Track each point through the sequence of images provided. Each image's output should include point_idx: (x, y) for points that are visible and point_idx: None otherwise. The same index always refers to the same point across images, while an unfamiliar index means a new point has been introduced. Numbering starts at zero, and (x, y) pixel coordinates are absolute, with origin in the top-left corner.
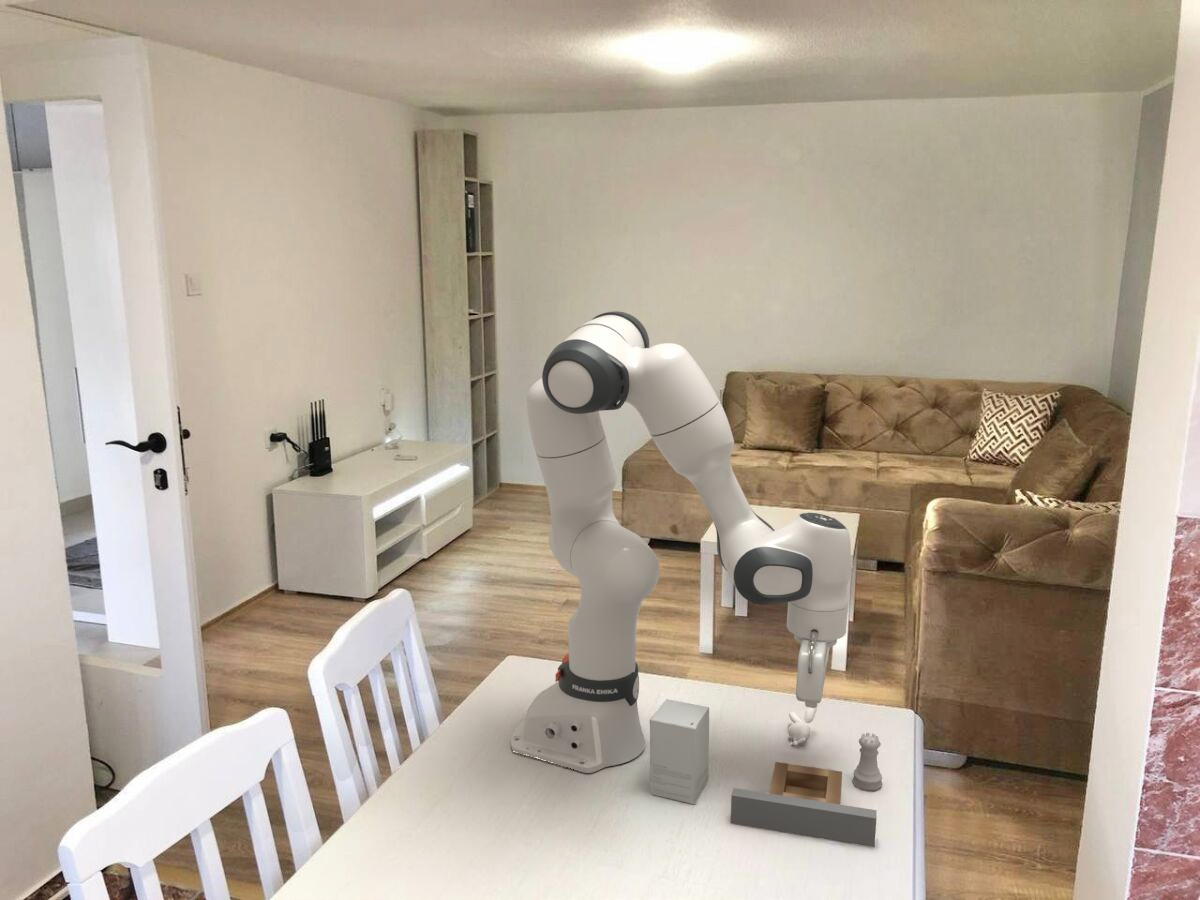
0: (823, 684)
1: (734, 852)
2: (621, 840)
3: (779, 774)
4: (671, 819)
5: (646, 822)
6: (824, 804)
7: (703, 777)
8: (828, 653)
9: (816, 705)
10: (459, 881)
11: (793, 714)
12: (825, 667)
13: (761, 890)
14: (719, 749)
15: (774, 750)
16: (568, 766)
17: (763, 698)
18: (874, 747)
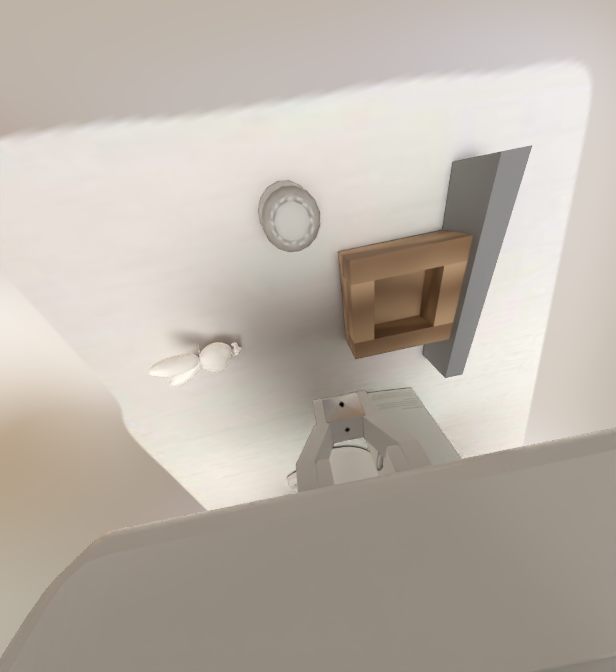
0: (561, 482)
1: (487, 331)
2: (470, 406)
3: (388, 344)
4: (437, 392)
5: (444, 404)
6: (481, 262)
7: (392, 402)
8: (165, 558)
9: (366, 393)
10: (514, 447)
11: (183, 380)
12: (457, 555)
13: (554, 286)
14: (296, 407)
15: (264, 363)
16: None
17: (136, 415)
18: (314, 200)
